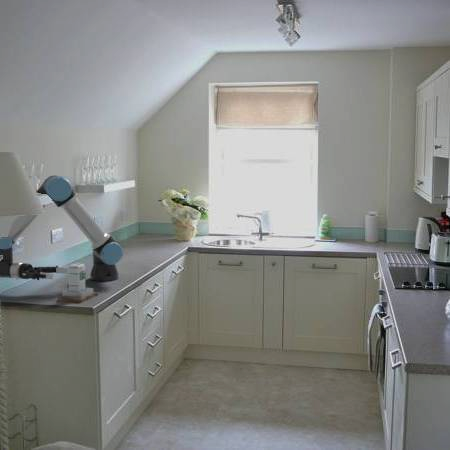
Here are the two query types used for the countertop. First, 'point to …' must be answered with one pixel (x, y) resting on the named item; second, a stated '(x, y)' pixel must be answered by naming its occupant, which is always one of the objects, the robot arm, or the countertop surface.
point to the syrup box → (77, 278)
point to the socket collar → (77, 293)
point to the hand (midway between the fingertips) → (60, 273)
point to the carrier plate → (76, 300)
